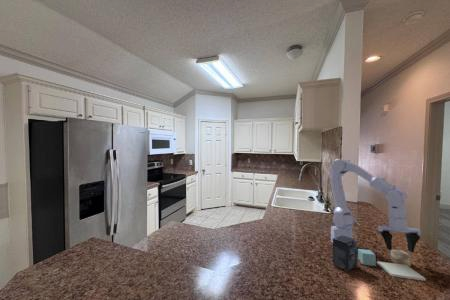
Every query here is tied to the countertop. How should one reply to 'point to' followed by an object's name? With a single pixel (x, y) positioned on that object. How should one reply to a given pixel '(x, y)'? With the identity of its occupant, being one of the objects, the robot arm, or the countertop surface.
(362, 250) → the brick top
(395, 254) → the brick base
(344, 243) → the box
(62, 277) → the countertop surface
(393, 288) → the countertop surface
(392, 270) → the baseplate
